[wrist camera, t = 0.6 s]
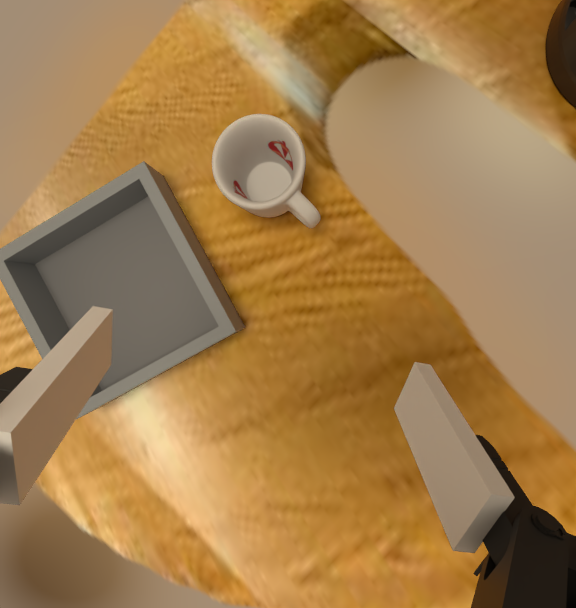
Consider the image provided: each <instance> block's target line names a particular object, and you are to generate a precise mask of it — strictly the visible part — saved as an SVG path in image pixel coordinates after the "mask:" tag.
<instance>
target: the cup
mask: <svg viewBox="0 0 576 608" xmlns="http://www.w3.org/2000/svg"><path fill="white" fill-rule="evenodd" d="M305 166H306V158H305V151H304V147H303V144H302V142H301V139H300V138H299V136H298V134H297V133H296V131H295V130H294V129H293V128H292V127H291V126H290V125H289V124H287V123H286V122H285V121H283V120H281V119H279V118H277V117H275V116H271V115H267V114H253V115H248V116H245V117H242V118H240V119H238V120H236V121H235V122H233V123H232V124H230V125H229V126H228V127H227V128H226V129H225V130H224V131H223V132H222V134H221V135H220V137H219V138H218V140H217V142H216V145H215V147H214V151H213V156H212V170H213V175H214V178H215V181H216V183H217V185H218V187H219V189H220V190H221V192H222V193H223V194H224V195H225V196H226V197H227V198H228V199H229V200H230V201H231V202H233V203H234V204H236V205H238V206H239V207H241V208H243V209H245V210H247V211H248V212H250V213H252V214H254V215H257V216H260V217H276V216H279V215H282V214H284V213H285V212H287V211H290V212H291V213H292V214H293V215H294V216H295V217H297V218H298V219H299V220H300V221H301V222H302V223H303V224H304V225H306V226H307V227H309V228H313V227H315V226H316V225H317V224H318V223H319V221H320V218H321V217H320V214H319V212H318V210H317V209H316V208H315V207H314V205H313V204H312V203H311V202H310V201H309V200H308V199H307V198H306V197H305V196H304V195H303V194H302V193H301V189H302V184H303V178H304V173H305Z"/></svg>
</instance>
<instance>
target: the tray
mask: <svg viewBox="0 0 576 608" xmlns="http://www.w3.org/2000/svg"><path fill="white" fill-rule="evenodd" d="M0 280H1V282H2V283H3V285H4V287H5V289H6V291H7V293H8V295H9V297H10V299H11V300H12V302H13V304H14V306H15V308H16V310H17V312H18V314H19V316H20V317H21V319H22V321H23V323H24V325H25V327H26V329H27V331H28V333H29V334H30V336H31V338H32V340H33V342H34V344H35V346H36V348H37V350H38V351H39V353H40V355H41V357H42V359H43V358H44V357H45V356H46V355H47V354H48V353H49V352H50V351H51V350H52V349H53V348H54V347H55V346H56V344H57V343H58V342H59V341H60V340H61V339H62V338H63V337H64V336H65V335H66V334H67V333H68V332H69V331H70V330H71V329H72V328H73V327H74V325H75V324H76V323H77V322H78V321H79V320H80V319H81V318H82V317H83V316H84V315H85V314H86V313H87V312H88V311H89V310H90V309H91V308H92V306H96V307H101V308H107V309H113V316H112V355H111V366H110V367H109V369H108V370H107V372H106V373H105V375H104V376H103V378H102V380H101V381H100V383H99V384H98V386H97V387H96V389H95V390H94V392H93V393H92V395H91V396H90V398H89V400H88V401H87V403H86V404H85V406H84V407H83V409H82V410H81V412H80V413H79V415H78V416H77V418H76V419H78V418H80V417H82V416H84V415H86V414H88V413H90V412H91V411H93V410H95V409H97V408H99V407H101V406H103V405H105V404H107V403H109V402H110V401H112V400H114V399H116V398H118V397H120V396H121V395H123V394H125V393H127V392H129V391H130V390H132V389H134V388H136V387H138V386H140V385H141V384H143V383H145V382H147V381H149V380H151V379H152V378H154V377H156V376H158V375H160V374H162V373H163V372H165V371H167V370H169V369H171V368H172V367H174V366H176V365H178V364H180V363H182V362H183V361H185V360H187V359H189V358H191V357H193V356H194V355H196V354H198V353H200V352H202V351H203V350H205V349H207V348H209V347H211V346H213V345H214V344H216V343H218V342H220V341H222V340H224V339H225V338H227V337H229V336H231V335H233V334H235V333H236V332H238V331H240V330H242V329H244V328H245V326H244V324H243V322H242V320H241V318H240V316H239V315H238V313H237V311H236V309H235V307H234V305H233V303H232V302H231V300H230V298H229V296H228V294H227V292H226V291H225V289H224V287H223V285H222V283H221V281H220V280H219V278H218V276H217V274H216V272H215V270H214V268H213V267H212V265H211V263H210V261H209V259H208V257H207V256H206V254H205V252H204V250H203V248H202V246H201V244H200V243H199V241H198V239H197V237H196V235H195V233H194V232H193V230H192V228H191V226H190V224H189V222H188V221H187V219H186V217H185V215H184V213H183V211H182V209H181V208H180V206H179V204H178V202H177V200H176V198H175V197H174V195H173V193H172V191H171V189H170V187H169V185H168V184H167V182H166V180H165V178H164V176H163V175H161V174H160V173H159V172H157V171H156V170H155V169H153V168H152V167H151V166H149V165H148V164H147V163H145V162H142V163H140V164H139V165H137V166H135V167H134V168H132V169H130V170H129V171H127V172H126V173H124V174H122V175H121V176H119V177H117V178H116V179H114V180H112V181H111V182H109V183H108V184H106V185H104V186H103V187H101V188H99V189H98V190H96V191H94V192H93V193H91V194H89V195H88V196H86V197H85V198H83V199H81V200H80V201H78V202H76V203H75V204H73V205H71V206H70V207H68V208H66V209H65V210H63V211H62V212H60V213H58V214H57V215H55V216H53V217H52V218H50V219H48V220H47V221H45V222H43V223H42V224H40V225H39V226H37V227H35V228H34V229H32V230H30V231H29V232H27V233H25V234H24V235H22V236H21V237H19V238H17V239H16V240H14V241H12V242H11V243H9V244H7V245H6V246H4V247H2V248H1V249H0Z"/></svg>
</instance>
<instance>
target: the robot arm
mask: <svg viewBox="0 0 576 608" xmlns="http://www.w3.org/2000/svg"><path fill="white" fill-rule="evenodd" d="M546 55H547V62H548V66H549V70H550V73H551V76H552V78H553V80H554V82H555V84H556V86H557V87H558V89H559V90H560V92H561V93H562V94H563V96H564V97H565V98H566V99H567V100H568V101H569V102H570V103H571V104H573V105H574V106H575V107H576V0H562V1H561V3H560V4H559V6H558V7H557V9H556V11H555V13H554V15H553V17H552V20H551V23H550V26H549V30H548V34H547V42H546ZM112 316H113V309H107V308H101V307H96V306H92V308H91V309H90V310H89V311H88V312H87V313H86V314H85V315H84V316H83V317H82V318H81V319H80V320H79V321H78V322H77V323H76V324H75V325H74V327H73V328H72V329H71V330H70V331H69V332H68V333H67V334H66V335H65V336H64V337H63V338H62V339H61V340H60V341H59V342H58V343H57V344H56V346H55V347H54V348H53V349H52V350H51V351H50V352H49V353H48V354H47V355H46V356H45V357H44V358H43V359H42V360H41V361H40V362H39V363H38V365H37V366H36V367H35V368H34V369H27V368H21V367H15V368H13V369H11V370H9V371H7V372H5V373H3V374H1V375H0V503H4V504H13V505H20V504H21V503H22V501H23V500H24V498H25V497H26V495H27V493H28V492H29V490H30V489H31V487H32V486H33V484H34V483H35V481H36V480H37V478H38V477H39V475H40V473H41V472H42V470H43V469H44V467H45V466H46V464H47V463H48V461H49V460H50V458H51V457H52V455H53V453H54V452H55V450H56V449H57V447H58V446H59V444H60V443H61V441H62V440H63V438H64V437H65V435H66V433H67V432H68V430H69V429H70V427H71V426H72V424H73V423H74V421H75V420H76V418H77V416H78V415H79V413H80V412H81V410H82V409H83V407H84V406H85V404H86V403H87V401H88V400H89V398H90V396H91V395H92V393H93V392H94V390H95V389H96V387H97V386H98V384H99V383H100V381H101V380H102V378H103V376H104V375H105V373H106V372H107V370H108V369H109V367H110V366H111V355H112ZM394 410H395V412H396V415H397V417H398V420H399V422H400V424H401V427H402V429H403V432H404V434H405V436H406V439H407V441H408V444H409V446H410V449H411V451H412V453H413V456H414V458H415V461H416V463H417V465H418V468H419V470H420V473H421V475H422V477H423V480H424V482H425V485H426V487H427V489H428V492H429V494H430V497H431V499H432V501H433V504H434V506H435V509H436V511H437V514H438V516H439V518H440V521H441V523H442V526H443V528H444V530H445V533H446V535H447V538H448V540H449V542H450V545H451V547H452V550H453V551H460V552H470V553H475V552H476V550H477V549H478V547H479V546H480V545H481V543H482V542H484V544H485V546H486V548H487V550H488V552H489V553H488V555H487V556H486V557H485V559H484V560H483V561H482V563H481V564H480V565H479V567H478V568H477V569H476V571H475V572H474V574H475V575H476V576H478V574H479V573H480V572H481V573H480V576H479V580H478V584H477V587H476V591H475V595H474V598H473V602H472V605H471V608H576V536H573V535H571V534H569V533H566V531H565V529H564V528H563V526H562V525H561V524H560V523H559V522H558V521H557V520H556V519H555V518H554V517H553V516H552V515H550V514H549V513H548V512H546V511H545V510H543V509H541V508H539V507H536V506H533V505H532V504H531V502H530V501H529V499H528V498H527V496H526V495H525V493H524V492H523V490H522V489H521V487H520V486H519V484H518V483H517V481H516V480H515V478H514V477H513V475H512V474H511V472H510V471H508V468H507V466H506V465H505V463H504V462H503V461H501V457H500V456H499V454H498V453H497V451H496V450H495V448H494V447H493V446H492V445H491V444H490V443H489V442H488V441H487V440H486V439H485V438H484V437H482V436H480V435H475V434H474V432H473V431H472V429H471V428H470V426H469V424H468V423H467V421H466V420H465V418H464V417H463V415H462V413H461V412H460V410H459V409H458V407H457V406H456V404H455V402H454V401H453V399H452V398H451V396H450V395H449V393H448V391H447V390H446V388H445V387H444V385H443V384H442V382H441V380H440V379H439V377H438V376H437V374H436V373H435V371H434V369H433V368H432V366H431V365H429V364H423V363H418V362H415V363H414V365H413V367H412V369H411V371H410V374H409V376H408V378H407V380H406V383H405V385H404V387H403V389H402V391H401V394H400V396H399V398H398V400H397V403H396V405H395V407H394Z"/></svg>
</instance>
